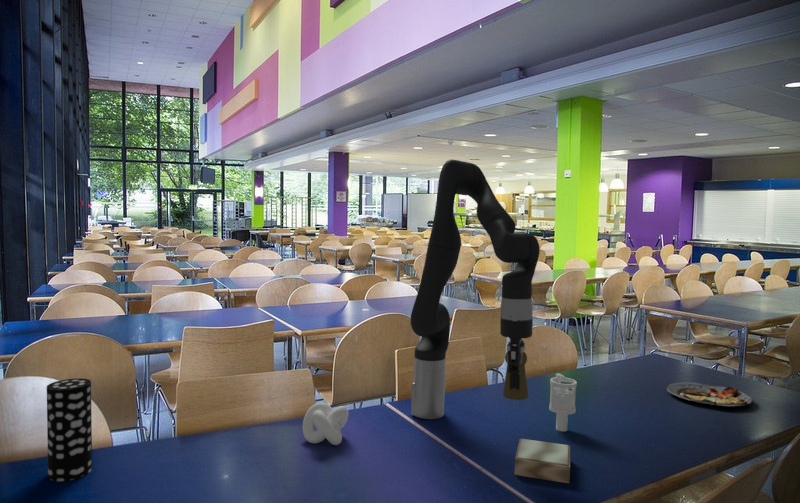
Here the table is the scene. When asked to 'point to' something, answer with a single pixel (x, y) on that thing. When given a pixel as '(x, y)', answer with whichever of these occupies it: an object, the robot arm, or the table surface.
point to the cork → (523, 390)
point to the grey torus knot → (324, 423)
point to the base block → (543, 460)
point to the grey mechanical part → (562, 400)
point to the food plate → (710, 394)
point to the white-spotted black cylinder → (69, 429)
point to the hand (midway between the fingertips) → (515, 386)
